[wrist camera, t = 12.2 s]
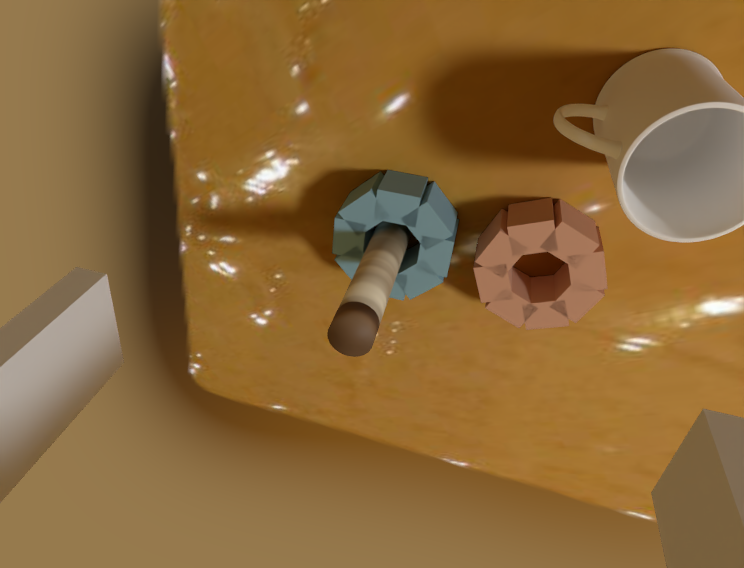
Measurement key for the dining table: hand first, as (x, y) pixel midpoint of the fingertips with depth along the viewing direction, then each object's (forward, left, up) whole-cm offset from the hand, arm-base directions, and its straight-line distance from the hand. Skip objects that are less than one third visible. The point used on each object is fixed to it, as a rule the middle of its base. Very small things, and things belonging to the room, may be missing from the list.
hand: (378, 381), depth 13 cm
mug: (+2, +11, -35) cm, 37 cm away
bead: (+15, -4, -35) cm, 38 cm away
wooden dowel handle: (+15, -4, -35) cm, 38 cm away
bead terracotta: (+15, +8, -35) cm, 39 cm away
